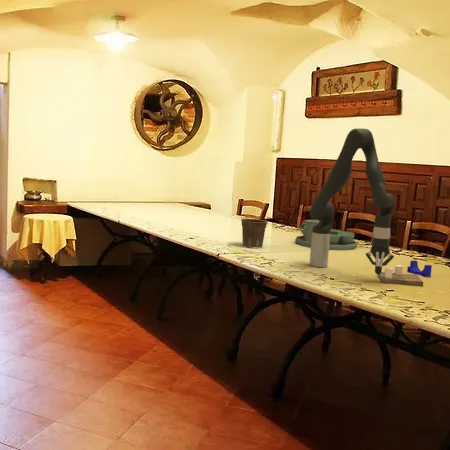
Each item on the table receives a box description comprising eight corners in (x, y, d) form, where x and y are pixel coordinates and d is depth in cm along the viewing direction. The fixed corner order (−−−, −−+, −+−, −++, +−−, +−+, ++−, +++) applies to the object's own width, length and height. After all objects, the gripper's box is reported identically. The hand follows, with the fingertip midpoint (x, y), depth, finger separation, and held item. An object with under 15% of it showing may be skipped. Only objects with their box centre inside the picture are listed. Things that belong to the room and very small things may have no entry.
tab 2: (394, 273, 246) (395, 265, 245) (400, 273, 245) (401, 265, 245) (395, 274, 243) (396, 266, 242) (402, 275, 243) (402, 266, 242)
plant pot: (271, 248, 312) (273, 221, 310) (251, 249, 302) (252, 222, 300) (254, 243, 325) (255, 218, 323) (234, 245, 315) (235, 219, 313)
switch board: (377, 275, 249) (377, 271, 249) (416, 279, 246) (416, 274, 246) (381, 282, 234) (382, 278, 234) (422, 286, 231) (423, 281, 231)
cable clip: (407, 272, 263) (408, 260, 262) (414, 272, 264) (415, 260, 264) (422, 277, 252) (424, 265, 251) (430, 277, 253) (431, 265, 252)
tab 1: (384, 276, 238) (384, 267, 238) (390, 276, 238) (391, 268, 237) (385, 277, 235) (385, 268, 235) (391, 278, 235) (392, 269, 234)
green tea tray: (354, 253, 312) (356, 226, 310) (289, 246, 325) (291, 220, 323) (359, 244, 350) (361, 220, 348) (300, 238, 362) (302, 215, 360)
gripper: (395, 236, 237) (391, 273, 239) (365, 234, 239) (362, 271, 241) (397, 239, 230) (393, 277, 232) (367, 236, 232) (363, 274, 234)
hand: (377, 274), depth 237 cm, fingers closed
